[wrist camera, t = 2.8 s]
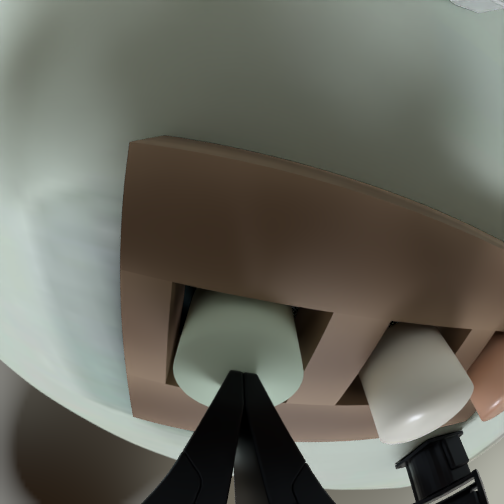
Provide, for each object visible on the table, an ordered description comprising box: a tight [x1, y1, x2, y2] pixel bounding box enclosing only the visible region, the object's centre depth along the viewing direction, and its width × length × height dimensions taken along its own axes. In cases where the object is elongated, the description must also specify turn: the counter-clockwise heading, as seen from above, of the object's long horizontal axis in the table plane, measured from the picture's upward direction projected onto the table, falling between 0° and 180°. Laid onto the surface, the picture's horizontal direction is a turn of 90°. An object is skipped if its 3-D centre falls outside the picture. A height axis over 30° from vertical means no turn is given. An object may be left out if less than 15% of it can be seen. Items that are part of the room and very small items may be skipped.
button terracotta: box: [466, 331, 504, 421], centre depth 10 cm, size 4×4×4 cm
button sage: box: [173, 287, 304, 407], centre depth 10 cm, size 4×4×4 cm
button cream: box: [358, 322, 474, 444], centre depth 9 cm, size 4×4×4 cm
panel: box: [120, 135, 504, 442], centre depth 11 cm, size 12×22×3 cm, turn 77°
